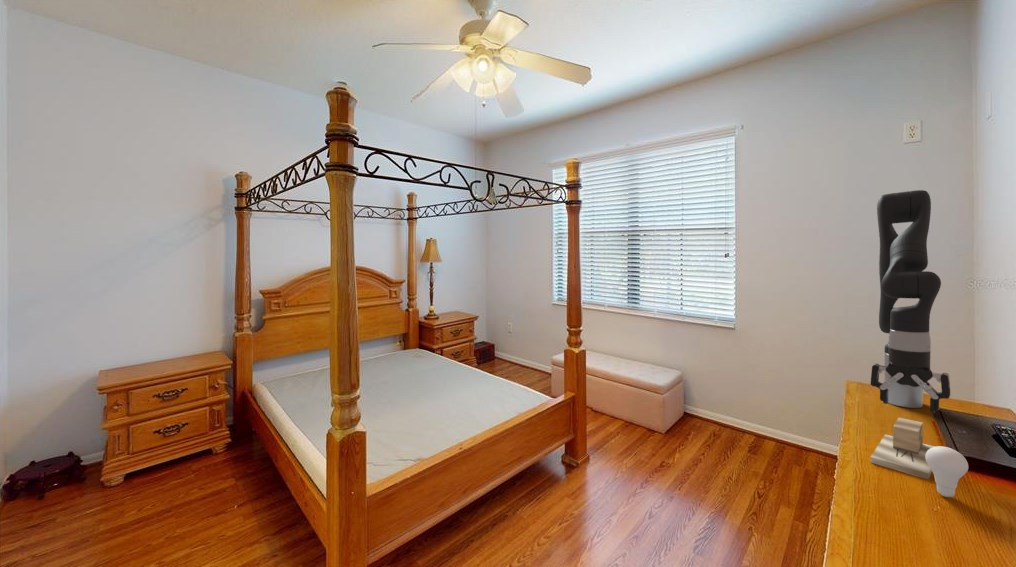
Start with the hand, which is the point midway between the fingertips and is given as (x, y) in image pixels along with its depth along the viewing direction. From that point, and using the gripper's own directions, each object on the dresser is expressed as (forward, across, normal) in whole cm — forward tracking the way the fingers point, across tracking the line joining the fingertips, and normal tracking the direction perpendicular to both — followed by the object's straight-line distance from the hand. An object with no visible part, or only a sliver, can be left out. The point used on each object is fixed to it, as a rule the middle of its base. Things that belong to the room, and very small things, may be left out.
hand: (908, 407), depth 99 cm
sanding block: (+11, 0, 0) cm, 11 cm away
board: (+12, 0, +4) cm, 13 cm away
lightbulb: (+13, -8, +19) cm, 24 cm away
